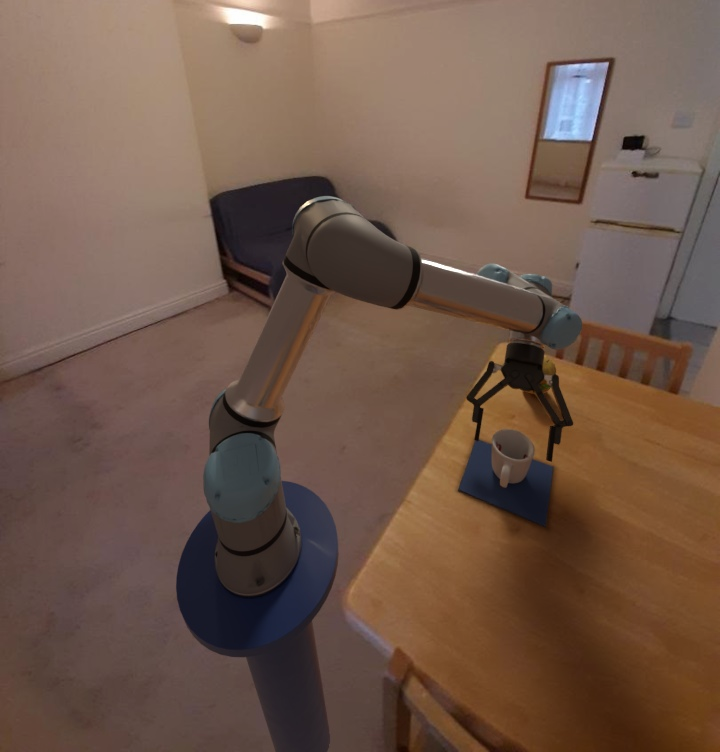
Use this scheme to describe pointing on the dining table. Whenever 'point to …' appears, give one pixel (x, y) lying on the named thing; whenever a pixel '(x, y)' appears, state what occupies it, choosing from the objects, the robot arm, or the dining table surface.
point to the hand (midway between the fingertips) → (511, 450)
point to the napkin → (508, 486)
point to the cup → (511, 455)
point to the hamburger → (547, 370)
